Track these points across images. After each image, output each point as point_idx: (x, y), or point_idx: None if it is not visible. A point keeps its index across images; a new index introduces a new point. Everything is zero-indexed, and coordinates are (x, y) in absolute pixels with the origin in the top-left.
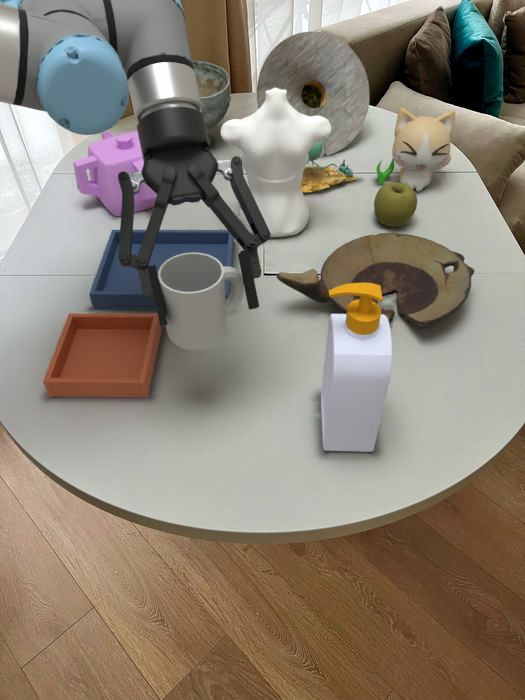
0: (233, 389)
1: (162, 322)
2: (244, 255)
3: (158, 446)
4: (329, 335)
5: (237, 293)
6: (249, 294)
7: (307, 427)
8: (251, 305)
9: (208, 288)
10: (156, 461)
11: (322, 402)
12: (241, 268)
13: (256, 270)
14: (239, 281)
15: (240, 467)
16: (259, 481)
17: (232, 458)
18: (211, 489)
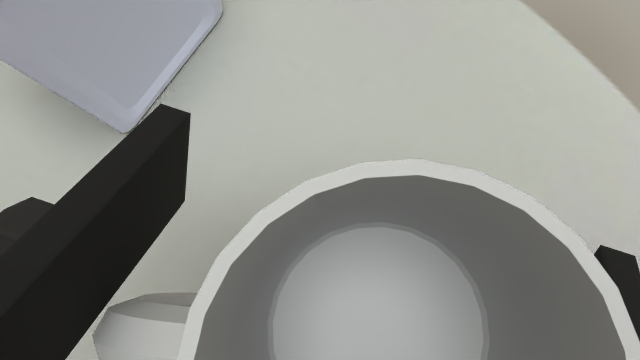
0: None
1: (624, 262)
2: (6, 290)
3: None
4: (3, 23)
5: (170, 300)
6: (157, 166)
7: (211, 84)
8: (183, 139)
9: (392, 168)
10: (554, 200)
11: (139, 106)
12: (73, 327)
13: (22, 226)
14: (132, 300)
15: (398, 81)
16: (382, 30)
17: (401, 110)
18: (479, 70)
